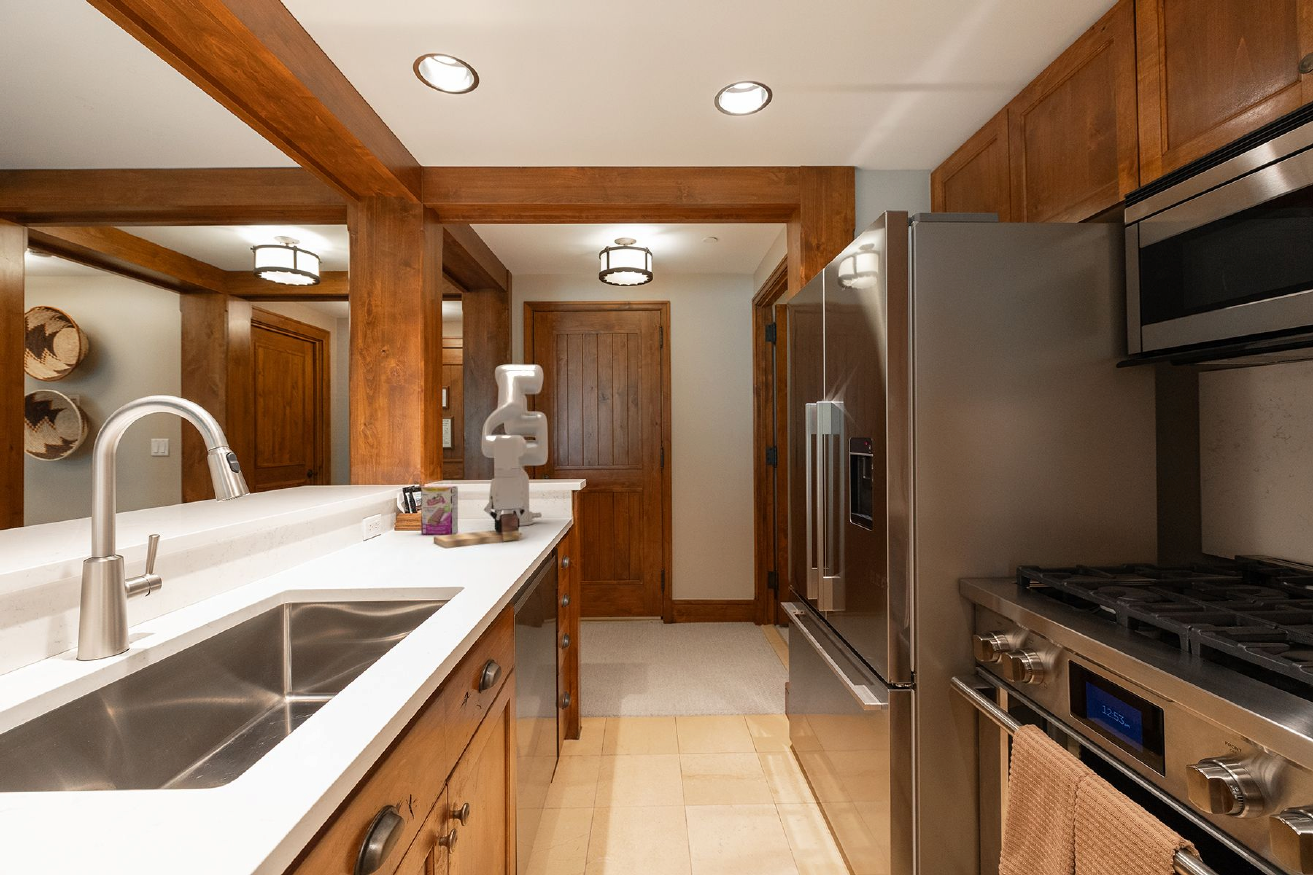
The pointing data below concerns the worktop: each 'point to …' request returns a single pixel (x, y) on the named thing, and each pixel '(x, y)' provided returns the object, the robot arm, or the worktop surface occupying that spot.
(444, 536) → the pine board
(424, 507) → the candy bar box
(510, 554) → the worktop surface
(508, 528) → the brown block
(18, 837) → the worktop surface
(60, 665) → the worktop surface
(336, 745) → the worktop surface
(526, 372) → the robot arm
